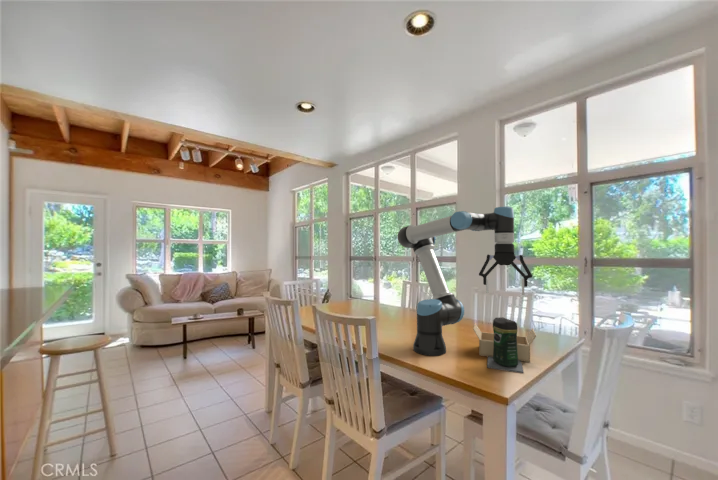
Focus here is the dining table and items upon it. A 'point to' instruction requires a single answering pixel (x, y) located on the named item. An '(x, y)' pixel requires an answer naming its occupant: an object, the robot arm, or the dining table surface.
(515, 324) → the coffee jar
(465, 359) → the dining table surface
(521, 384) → the dining table surface
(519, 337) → the carton
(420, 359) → the dining table surface
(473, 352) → the dining table surface
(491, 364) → the mat
